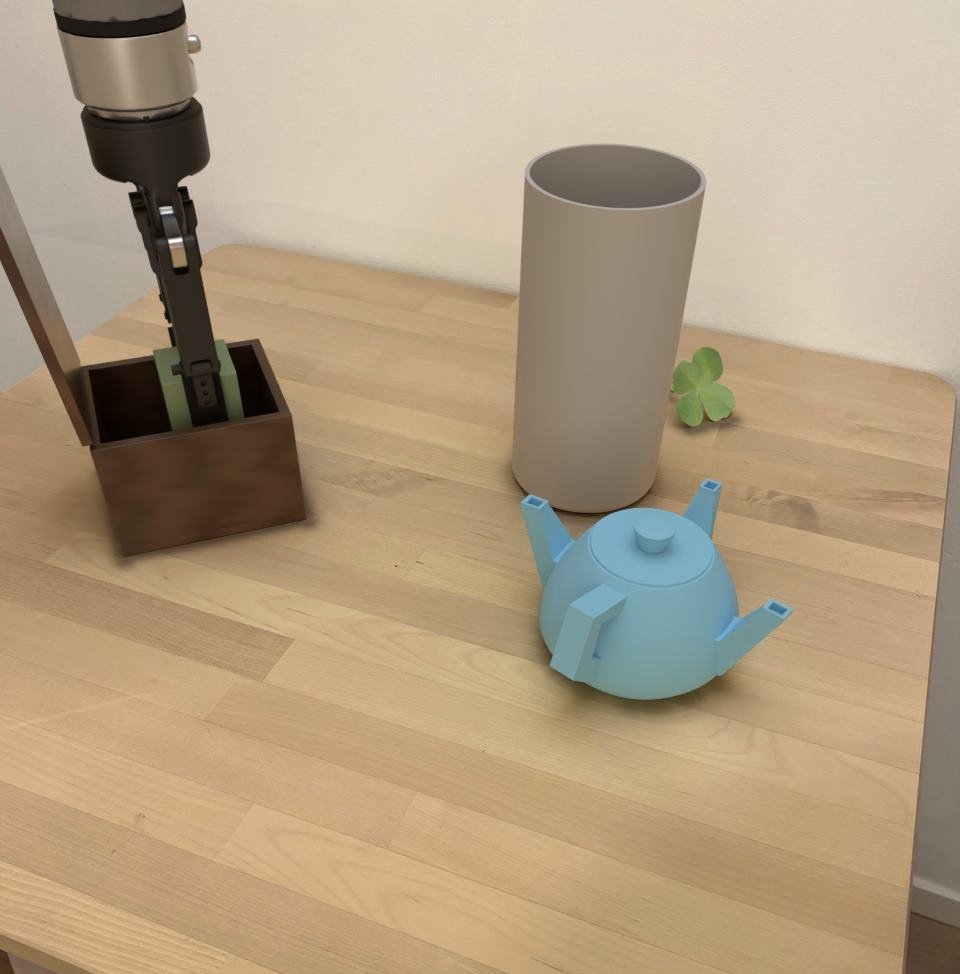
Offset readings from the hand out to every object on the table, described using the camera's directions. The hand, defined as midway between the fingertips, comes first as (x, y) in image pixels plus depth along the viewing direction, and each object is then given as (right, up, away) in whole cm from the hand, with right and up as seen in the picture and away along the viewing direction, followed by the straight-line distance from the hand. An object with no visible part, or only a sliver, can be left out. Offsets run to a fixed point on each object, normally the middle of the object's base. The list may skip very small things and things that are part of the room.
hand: (207, 419), depth 77 cm
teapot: (+33, -18, -7) cm, 38 cm away
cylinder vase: (+31, -3, +7) cm, 32 cm away
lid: (-8, +6, -10) cm, 14 cm away
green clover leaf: (+42, +4, +15) cm, 45 cm away
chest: (-2, -5, +4) cm, 7 cm away
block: (0, 0, 0) cm, 0 cm away
